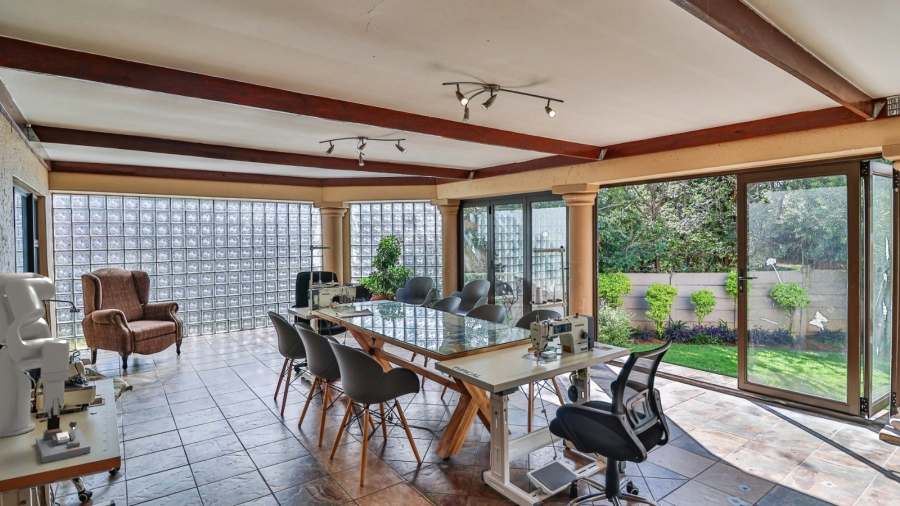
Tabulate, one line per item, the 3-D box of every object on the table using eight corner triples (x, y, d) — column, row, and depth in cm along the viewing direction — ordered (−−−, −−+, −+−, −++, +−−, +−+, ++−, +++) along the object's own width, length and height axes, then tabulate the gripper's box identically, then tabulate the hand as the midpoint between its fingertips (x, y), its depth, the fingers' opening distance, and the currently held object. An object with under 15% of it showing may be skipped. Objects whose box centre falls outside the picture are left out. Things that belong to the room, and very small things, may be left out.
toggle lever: (69, 440, 156) (68, 422, 158) (76, 439, 158) (76, 421, 160) (70, 439, 155) (69, 421, 157) (77, 438, 156) (77, 420, 158)
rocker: (56, 436, 160) (56, 433, 160) (67, 434, 162) (67, 431, 162) (57, 443, 157) (58, 440, 157) (69, 441, 159) (69, 437, 159)
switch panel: (35, 443, 163) (36, 430, 163) (79, 434, 171) (79, 422, 172) (42, 463, 148) (43, 448, 148) (90, 452, 156) (90, 438, 156)
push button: (46, 437, 163) (46, 428, 163) (57, 435, 165) (57, 426, 165) (47, 439, 161) (47, 430, 161) (58, 437, 163) (58, 428, 163)
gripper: (38, 374, 166) (36, 426, 165) (43, 381, 155) (41, 437, 155) (65, 370, 171) (64, 421, 171) (71, 378, 161) (70, 431, 160)
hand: (53, 428), depth 163 cm, fingers closed
